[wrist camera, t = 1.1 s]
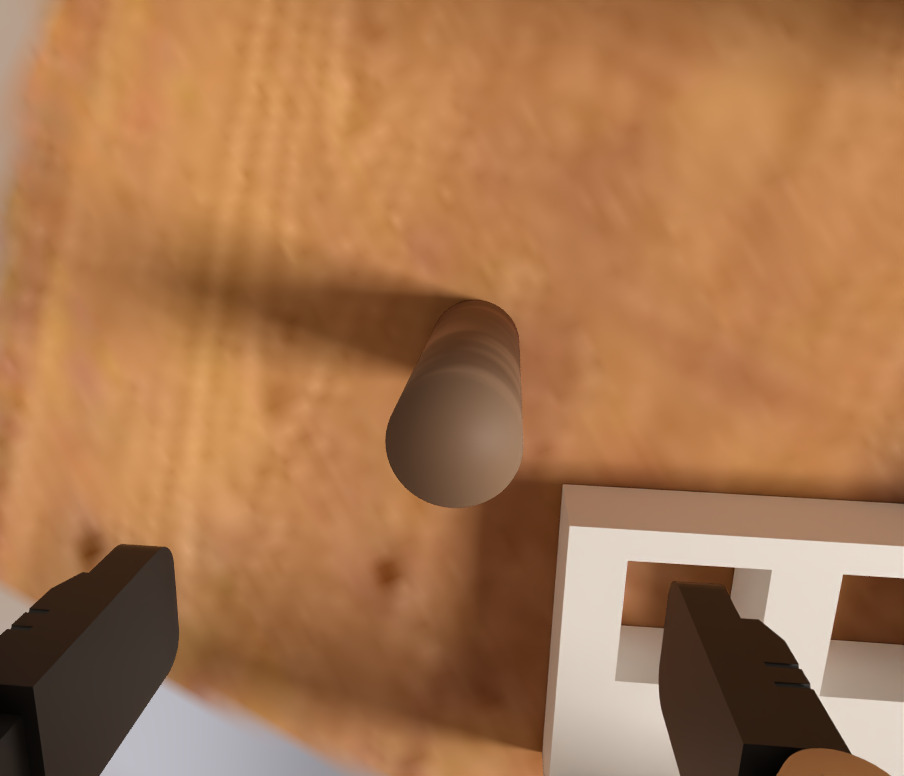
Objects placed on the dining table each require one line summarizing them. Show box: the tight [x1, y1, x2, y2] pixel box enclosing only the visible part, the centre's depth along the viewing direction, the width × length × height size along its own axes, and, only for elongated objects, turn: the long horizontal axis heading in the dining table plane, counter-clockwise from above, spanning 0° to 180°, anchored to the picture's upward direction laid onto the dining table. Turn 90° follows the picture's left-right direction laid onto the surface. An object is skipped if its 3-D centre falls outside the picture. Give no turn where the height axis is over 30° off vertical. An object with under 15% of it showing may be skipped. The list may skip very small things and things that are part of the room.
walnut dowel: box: [386, 300, 523, 508], centre depth 26 cm, size 4×4×12 cm
